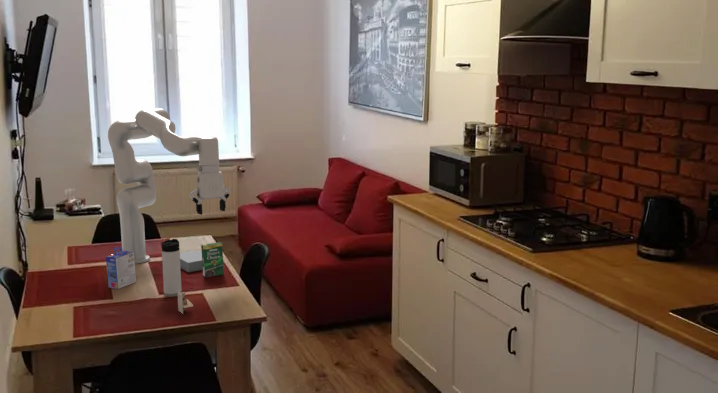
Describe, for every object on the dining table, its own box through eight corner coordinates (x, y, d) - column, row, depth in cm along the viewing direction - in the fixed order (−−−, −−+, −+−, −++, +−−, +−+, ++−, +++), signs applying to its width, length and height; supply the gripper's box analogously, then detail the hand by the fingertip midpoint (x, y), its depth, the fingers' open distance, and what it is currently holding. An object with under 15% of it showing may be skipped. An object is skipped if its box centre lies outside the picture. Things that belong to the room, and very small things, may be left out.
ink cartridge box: (125, 280, 282) (123, 244, 280) (136, 282, 280) (134, 245, 277) (107, 287, 273) (104, 250, 271) (118, 289, 271) (116, 251, 268)
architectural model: (188, 309, 251) (187, 288, 250) (193, 315, 245) (192, 294, 244) (178, 311, 250) (177, 290, 248) (183, 317, 244) (182, 296, 242)
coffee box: (204, 277, 286) (202, 245, 283) (202, 276, 288) (200, 243, 286) (224, 275, 289) (223, 243, 287) (222, 273, 292) (221, 241, 289)
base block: (188, 272, 293) (188, 262, 292) (172, 263, 305) (171, 254, 304) (213, 267, 299) (213, 258, 299) (196, 259, 312) (196, 250, 311)
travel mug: (185, 292, 268) (183, 239, 264) (175, 297, 262) (172, 243, 258) (170, 290, 270) (168, 238, 266) (160, 295, 264) (157, 242, 260)
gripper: (192, 172, 272) (194, 216, 276) (234, 167, 283) (235, 211, 286) (184, 169, 278) (186, 213, 281) (225, 165, 289) (226, 208, 292)
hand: (211, 212), depth 284 cm, fingers open, 9 cm apart
